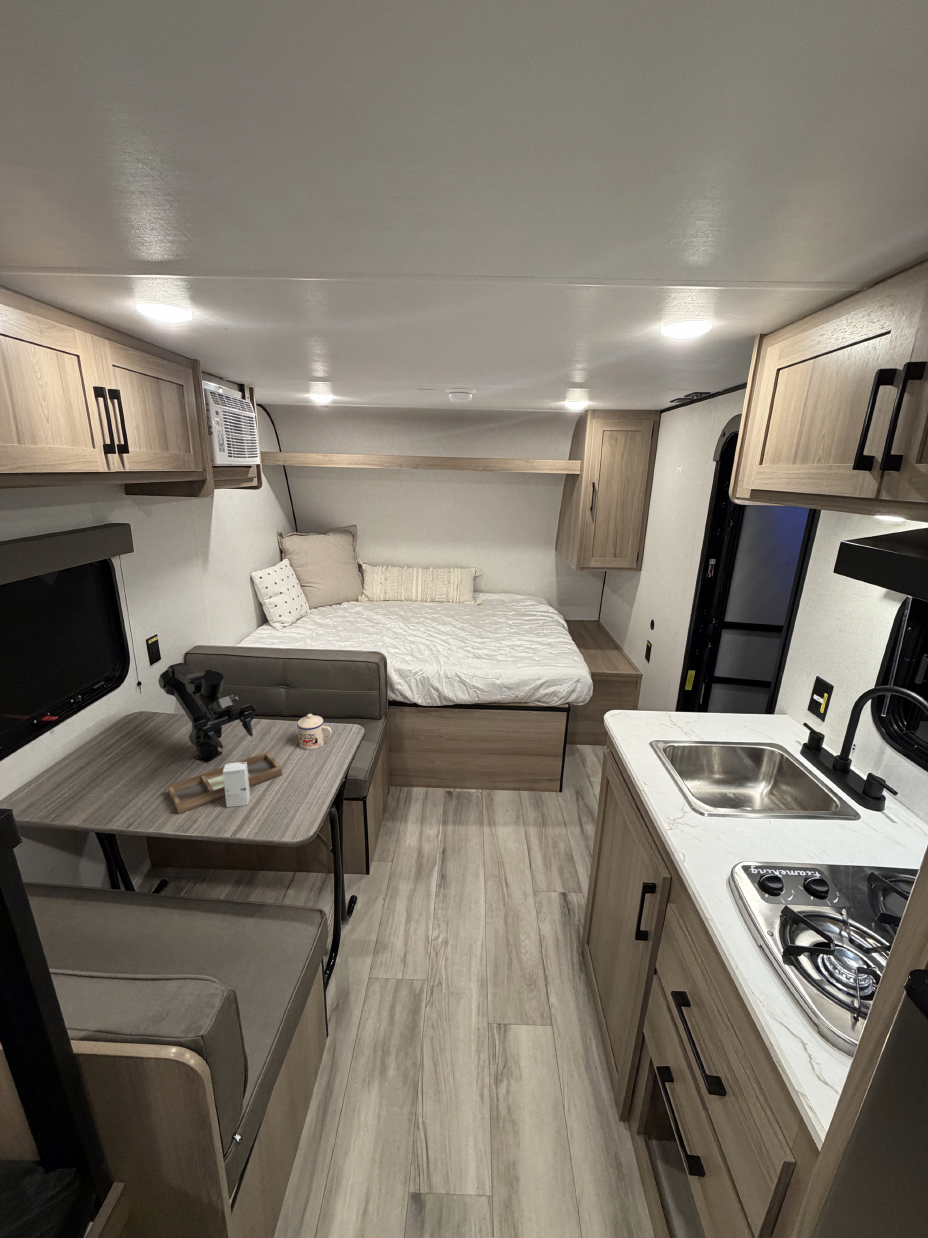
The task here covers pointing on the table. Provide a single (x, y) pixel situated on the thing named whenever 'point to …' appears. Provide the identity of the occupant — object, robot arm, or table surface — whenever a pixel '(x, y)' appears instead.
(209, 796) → the three bay box
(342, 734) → the table surface
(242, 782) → the skincare box
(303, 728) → the teacup with lid
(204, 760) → the robot arm
